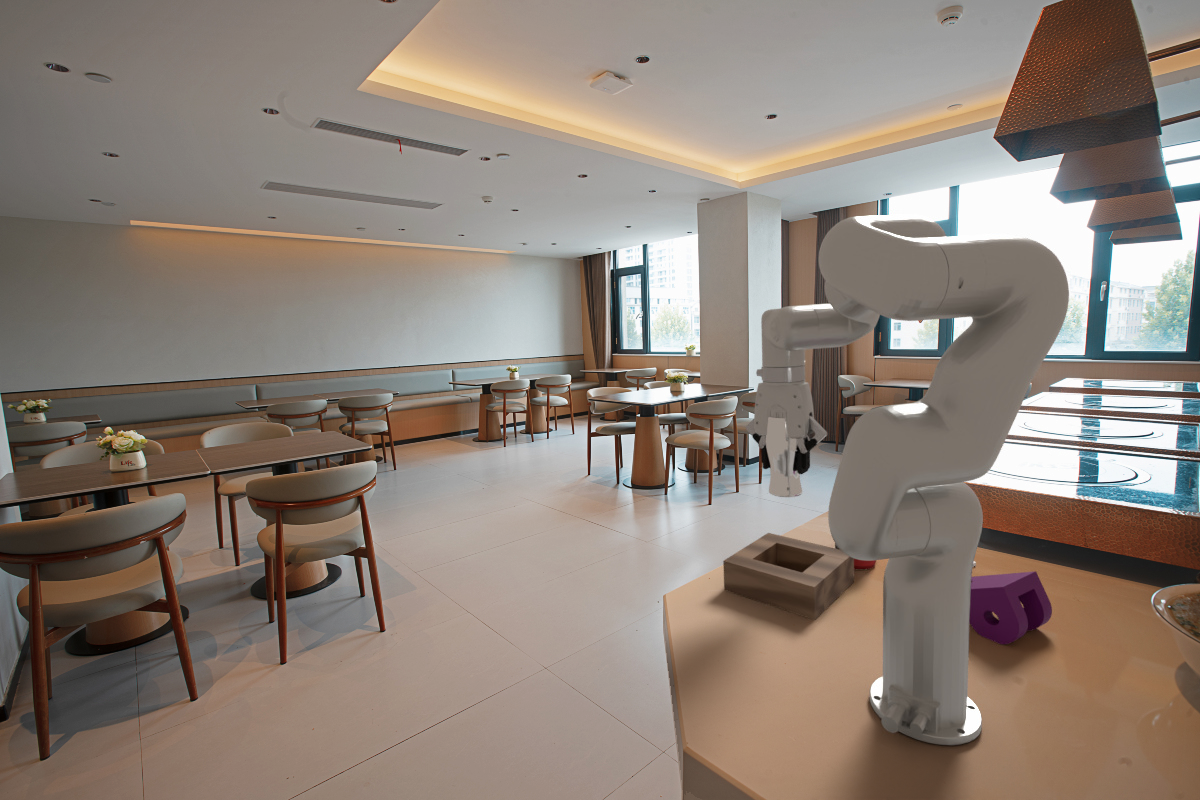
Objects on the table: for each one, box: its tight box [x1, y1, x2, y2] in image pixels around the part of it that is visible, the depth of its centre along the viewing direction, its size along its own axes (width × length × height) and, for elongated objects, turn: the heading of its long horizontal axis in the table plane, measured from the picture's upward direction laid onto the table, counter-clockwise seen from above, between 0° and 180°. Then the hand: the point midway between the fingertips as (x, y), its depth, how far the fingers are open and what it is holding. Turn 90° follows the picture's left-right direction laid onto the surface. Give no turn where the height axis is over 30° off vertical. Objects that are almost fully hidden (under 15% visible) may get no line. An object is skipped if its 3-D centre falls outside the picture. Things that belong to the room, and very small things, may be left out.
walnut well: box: [722, 532, 855, 621], centre depth 107 cm, size 18×18×6 cm
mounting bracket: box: [969, 571, 1053, 645], centre depth 93 cm, size 9×8×18 cm
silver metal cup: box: [765, 417, 804, 498], centre depth 104 cm, size 7×7×15 cm
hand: (785, 469), depth 104 cm, fingers closed on silver metal cup, 6 cm apart
